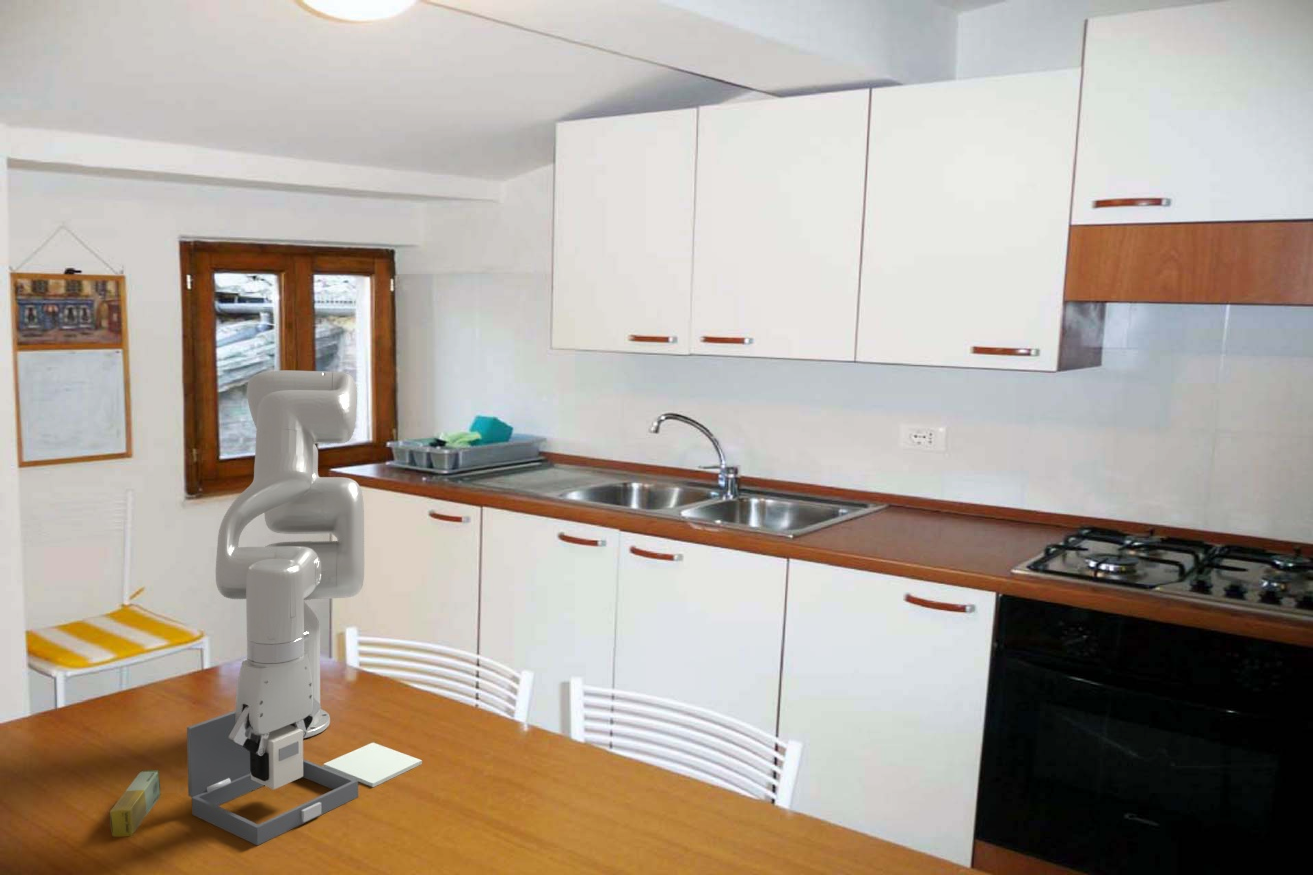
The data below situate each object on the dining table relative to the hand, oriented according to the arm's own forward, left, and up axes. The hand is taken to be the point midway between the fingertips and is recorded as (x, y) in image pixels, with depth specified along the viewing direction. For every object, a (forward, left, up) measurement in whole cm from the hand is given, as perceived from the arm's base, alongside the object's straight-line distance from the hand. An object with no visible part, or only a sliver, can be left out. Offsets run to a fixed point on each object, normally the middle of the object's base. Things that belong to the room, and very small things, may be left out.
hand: (277, 769), depth 151 cm
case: (0, 0, -5) cm, 5 cm away
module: (0, 0, -1) cm, 1 cm away
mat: (+1, +17, -5) cm, 18 cm away
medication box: (-13, -13, -6) cm, 19 cm away
